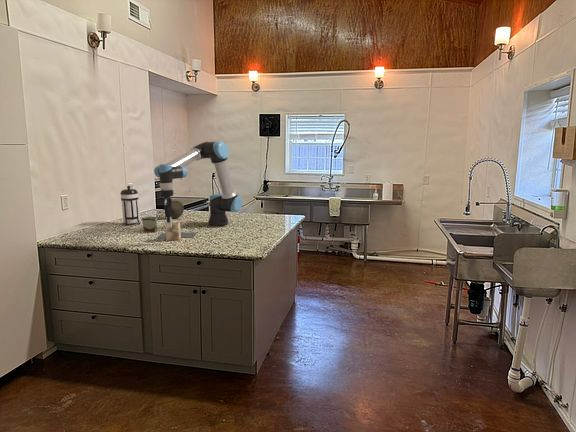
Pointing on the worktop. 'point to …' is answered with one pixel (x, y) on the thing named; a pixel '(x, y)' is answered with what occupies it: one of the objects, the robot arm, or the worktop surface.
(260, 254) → the worktop surface
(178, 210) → the cantaloupe
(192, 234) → the rubber mat
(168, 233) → the maple block
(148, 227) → the food container
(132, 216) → the coffee press
